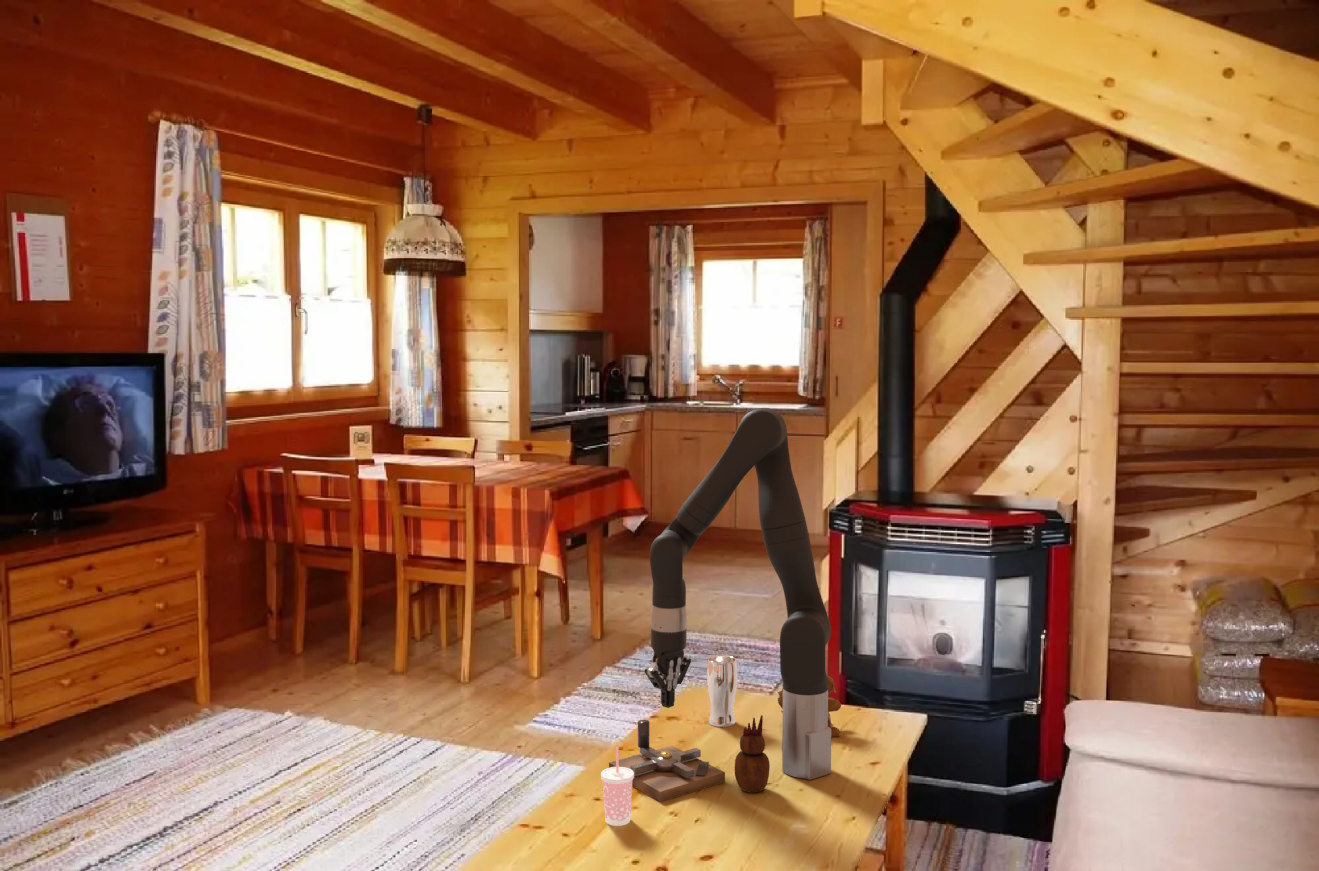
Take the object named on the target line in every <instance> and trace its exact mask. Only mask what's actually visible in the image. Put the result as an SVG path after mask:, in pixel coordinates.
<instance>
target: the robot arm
mask: <svg viewBox="0 0 1319 871" xmlns="http://www.w3.org/2000/svg"><path fill="white" fill-rule="evenodd" d="M791 464H792V462H791V457H790V451H789V438H788V430H787V425H786V422H785V420H784V418H783V416H782V415H781V414H780V413H779V412H777V410H775V409H772V408H769V407H759V408H757V409H753V410H751V411H749V412H747V413H745V415H743V417H742V418H741V419H740V422H739V424H738V426H737V428H736V430H735V431H734V435H733V436H732V438H731V440H730V442H729V443H728V444H727V447H726V448H725V450H724V451H723V453H722V454H721V456H720V457H719V459H718V460H717V461H716V463H715V464H714V465H713V467H712V468H711V469H710V471H708V473H707V474H706V475H705V476H704V478H703V479H702V480H701V481H700V482H699V484H698V485H697V486H696V487H695V488H694V489H693V491H692V492H691V493H690V495H689V496H688V497H687V499H686V500H685V501H684V503H683V504H682V505H681V506H680V508H679V509H678V511H677V513H676V516H675V517H674V519H673V520H672V521H671V522H670V523H669V524H668V525H667V527H666V528H665V529H664V530H663V531H662V533H661V534H660V535H658V536H657V537H655V539H654V540H653V542H651V545H650V551H649V564H650V572H651V579H652V591H651V592H652V594H651V595H652V597H651V598H652V601H651V603H652V604H651V615H650V647H651V649H652V650H653V656H652V664H651V666H649V667H645V669H644V674H645V675H646V677H647V678H648V680H649V681H650V683H651V684H652V686H653V687H654V688H655V689H658V690H660V704H661V706H662V707H664V708H667V709H669V708H672V707H674V706H675V700H676V699H675V697H676V696H675V695H676V692H675V690H676V689H677V687H678V685H682V683H683V681H684V679H685V676H686V674H687V672H688V670H689V667H690V666H691V663H692V659H691V658H689V657H687V656H686V655H685V651H684V650H685V649H686V648H687V638H688V637H687V632H688V630H687V626H688V624H687V623H688V618H687V617H688V614H687V608H686V607H687V602H686V601H687V593H686V592H687V587H686V586H687V585H686V581H685V580H684V578H683V570H684V569H683V563H684V559H685V558H686V557H687V555H688V554H689V552H690V551H692V549H693V547H694V546H695V544H696V543H697V541H698V540H699V539H700V537H701V535H702V534H703V533H704V532H706V530H707V529H708V528H709V527H710V525H712V523H713V521H715V519H716V518H717V517H718V516H719V514H720V513H721V512H722V510H723V509H724V508H725V506H726V505H727V503H728V501H729V500H730V498H731V497H732V495H733V494H734V492H735V491H736V489H737V487H738V486H739V484H741V481H742V480H743V479H744V478H745V476H747V474H748V473H749V472H750V471H751V470H752V469H753V467H754V468H755V472H756V478H757V485H758V486H757V487H758V488H757V489H758V490H757V492H758V494H757V495H758V497H757V498H758V500H757V501H758V515H759V523H760V524H759V525H760V528H761V529H760V530H761V533H762V538H763V543H764V547H765V550H766V554H767V556H768V558H769V561H770V563H771V565H772V567H773V569H774V570H775V573H776V575H777V577H778V579H779V580H780V583H781V587H782V591H783V593H784V598H785V599H784V600H785V606H786V613H787V619H786V620H785V621H784V623H783V625H782V627H781V630H780V636H779V661H780V662H779V663H780V664H779V666H780V668H779V670H780V675H781V679H782V688H783V709H782V711H783V714H782V721H781V722H782V725H781V726H782V730H781V731H782V733H781V734H782V736H781V737H782V743H781V744H782V746H781V749H782V750H781V751H782V753H781V754H782V755H781V756H782V759H781V760H782V762H781V763H782V765H781V766H782V767H781V769H782V771H783V772H784V773H785V774H786V775H788V776H791V777H794V778H799V779H805V780H808V781H811V780H814V779H817V778H820V777H823V776H826V775H829V774H832V737H831V728H829V727H828V698H829V694H828V676H829V675H828V674H827V671H826V670H827V669H826V668H827V667H826V645H828V643H829V641H830V638H831V636H832V635H831V634H832V626H831V622H830V619H829V615H828V613H827V609H826V607H825V603H824V600H823V597H822V595H821V592H820V588H819V586H818V581H817V575H816V568H815V561H814V556H813V550H812V544H811V537H810V534H809V529H808V524H807V520H806V516H805V512H804V508H803V505H802V501H801V498H800V494H799V490H798V487H797V484H796V480H795V478H794V474H793V470H792V465H791ZM826 674H827V675H828V676H827V675H826Z"/></svg>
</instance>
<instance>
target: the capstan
mask: <svg viewBox="0 0 1319 871" xmlns="http://www.w3.org/2000/svg"><path fill="white" fill-rule="evenodd" d="M637 747H638V748H639V754H643V755H645V756H646V757H648V758H650V759H651V760H650V761H646V762H643V763H639V764H635V765H632V766H630V769H631V770H633V772H634V775H638V774H641V773H645V772H648V771H652V770H658V771H665V772H667V771H674V772H676V773H678V774H680V775H682V776H684V777H686V778H691V777H694V769H692V768H690V767H688V766H686V765H684V764H682V763H681V762H684V761H687V760H691V759H694V758H698V759H699V758H701V757H702V753H701V752H702V750H701V749H700V748H698V747H694V748H690V749H687V750H682V752H679V753H676V752H672V751H661V752H659V751H657V749H655V748H653V747H651V746H650V721H649V720H648V719H640V720H639V719H638V721H637Z"/></svg>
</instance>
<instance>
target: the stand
mask: <svg viewBox="0 0 1319 871" xmlns="http://www.w3.org/2000/svg"><path fill="white" fill-rule="evenodd" d="M656 750H657V751H659V752H661V751H672V752H676V753H679V752H682V751H683V750H682V749H679V748H677V747H675V746H674V745H670V746H665V747H662V748H658V749H656ZM650 760H651V759H650V758H648V757H646V756H645V755H643V754H641V753H639V754H636V755H631V756H628V757H625V758H621V759H620V758H619V767H626V768H629V769H630V766H632V765H635V764H639V763H643V762H646V761H650ZM681 763H682V764H684V765H686V766H688V767H690V768H692V769H694V777H691V778H686V777H684V776H682V775H680V774H678V773H676V772H674V771H667V772H665V771H658V770H652V771H648V772H645V773H641V774H638V775H634V778H633V780H632V787H634V788H636V789H637V790H639V791H641V792H643V793H644V794H646V795H647V796H650V797H651V798H653V799H655V800H656V801H658V802H659V803H661V802H664V801H667V800H670V799H673V798H677V797H680V796H684V795H687V794H690V793H693V792H697V791H701V790H704V789H706V788H710V787H713V786H714V787H715V786H717V785H720V784H724V783H726V772H725V771H723V770H721V769H720V768H717V767H715V766H713V765H711V764H710V762H709V761H703V760H701V759H699V757H698V758H694V759H691V760H687V761H684V762H681ZM611 767H616V760H614V761H609V762H608V768H611Z"/></svg>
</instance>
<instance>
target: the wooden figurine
mask: <svg viewBox="0 0 1319 871" xmlns="http://www.w3.org/2000/svg"><path fill="white" fill-rule="evenodd" d="M763 717H764V716H763V715H760V717H759V718H760V719H759V722H758V725H757V723H756V718H755V717H752V724H751V723H750V722H748V723H747V726H744V727H743V732H742V735H740V738H739V748H740V751H739V752H738V753H737V754H736V756H735V760H734V775H735V781H736V783H737V785H738V787H739V788H740V789H741V790H743V791H744V792H748V793H751V794H753V793H760V792H762V791H764V789H765V788H766V787H767V785H768V782H769V778H770V770H771V769H770V763H771V762H770V759H769V756H768V755H767V754H766V753H764V751H765V748H766V742H765V738H764V736H763V722H764V721H763Z"/></svg>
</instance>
